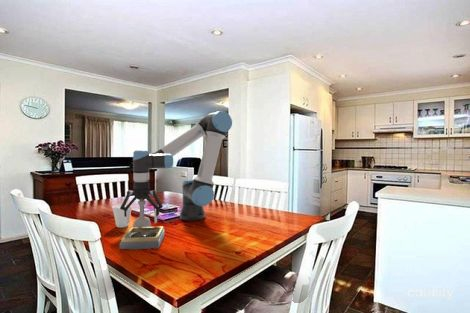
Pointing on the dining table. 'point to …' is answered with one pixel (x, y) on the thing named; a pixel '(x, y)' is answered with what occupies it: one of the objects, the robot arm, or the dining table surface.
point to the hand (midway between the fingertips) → (142, 222)
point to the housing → (142, 238)
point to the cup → (120, 216)
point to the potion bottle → (142, 216)
